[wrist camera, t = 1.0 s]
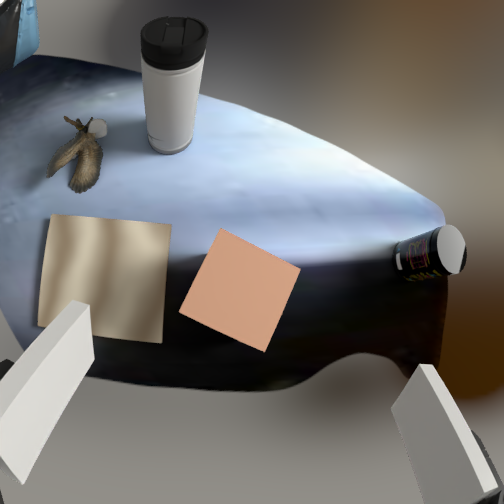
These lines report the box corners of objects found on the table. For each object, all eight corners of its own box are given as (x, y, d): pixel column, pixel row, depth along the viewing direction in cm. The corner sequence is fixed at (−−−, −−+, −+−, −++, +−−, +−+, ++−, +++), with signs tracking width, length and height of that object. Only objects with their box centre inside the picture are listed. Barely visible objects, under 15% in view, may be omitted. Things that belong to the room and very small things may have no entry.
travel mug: (145, 157, 39) (133, 48, 20) (150, 118, 40) (146, 7, 21) (191, 157, 40) (208, 49, 21) (193, 118, 42) (211, 9, 23)
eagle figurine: (56, 133, 35) (39, 185, 32) (71, 100, 31) (51, 154, 28) (100, 148, 41) (89, 200, 37) (120, 120, 36) (108, 173, 33)
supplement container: (424, 277, 46) (471, 267, 36) (396, 287, 44) (444, 279, 34) (414, 237, 47) (459, 221, 37) (385, 244, 45) (431, 227, 35)
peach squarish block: (238, 340, 37) (264, 351, 26) (178, 312, 36) (178, 312, 25) (264, 282, 40) (300, 269, 28) (207, 253, 39) (220, 227, 27)
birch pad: (42, 325, 32) (37, 325, 30) (55, 217, 35) (51, 214, 33) (162, 342, 35) (161, 343, 34) (171, 227, 38) (171, 224, 37)
